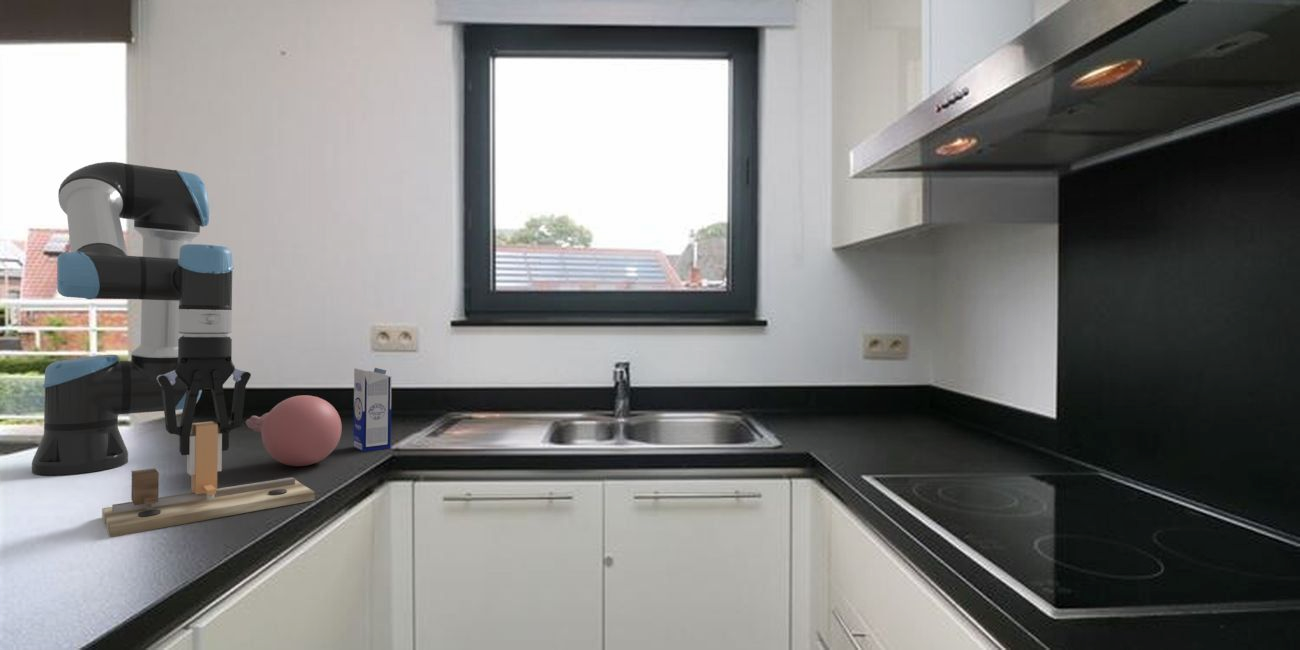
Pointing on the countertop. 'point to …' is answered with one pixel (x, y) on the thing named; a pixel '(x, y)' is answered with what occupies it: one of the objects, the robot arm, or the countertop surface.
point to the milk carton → (372, 410)
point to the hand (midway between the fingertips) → (204, 471)
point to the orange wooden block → (205, 459)
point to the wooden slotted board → (195, 503)
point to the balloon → (299, 430)
